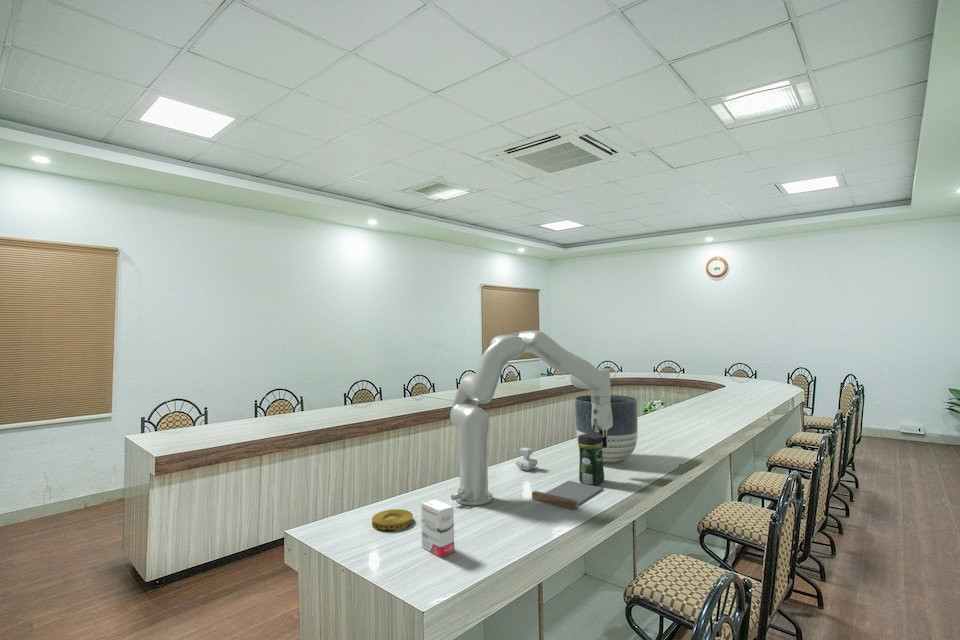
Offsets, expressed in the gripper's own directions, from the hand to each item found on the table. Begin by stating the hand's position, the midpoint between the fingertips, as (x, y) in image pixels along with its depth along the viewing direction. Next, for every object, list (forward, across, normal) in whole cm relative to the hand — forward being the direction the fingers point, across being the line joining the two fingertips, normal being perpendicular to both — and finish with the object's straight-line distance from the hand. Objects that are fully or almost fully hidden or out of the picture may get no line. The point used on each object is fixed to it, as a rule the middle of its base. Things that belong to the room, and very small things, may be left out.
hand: (602, 446), depth 182 cm
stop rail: (+11, -38, 0) cm, 39 cm away
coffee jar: (+11, -10, 0) cm, 15 cm away
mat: (+11, -26, 0) cm, 28 cm away
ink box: (+11, -84, +8) cm, 85 cm away
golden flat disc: (+12, -80, +31) cm, 87 cm away
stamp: (+11, -10, +29) cm, 33 cm away
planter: (+12, +22, +8) cm, 26 cm away
